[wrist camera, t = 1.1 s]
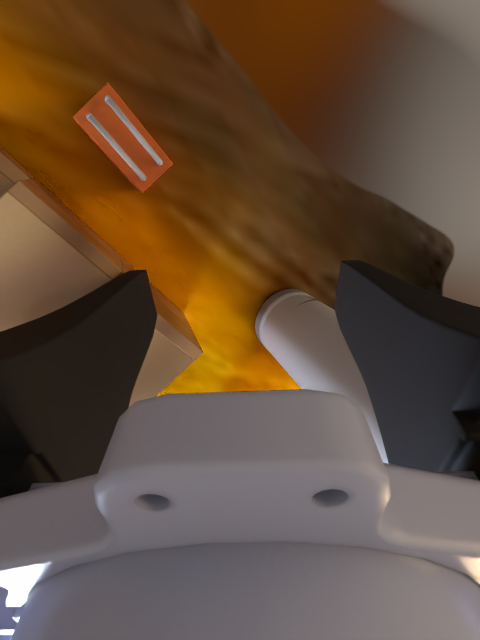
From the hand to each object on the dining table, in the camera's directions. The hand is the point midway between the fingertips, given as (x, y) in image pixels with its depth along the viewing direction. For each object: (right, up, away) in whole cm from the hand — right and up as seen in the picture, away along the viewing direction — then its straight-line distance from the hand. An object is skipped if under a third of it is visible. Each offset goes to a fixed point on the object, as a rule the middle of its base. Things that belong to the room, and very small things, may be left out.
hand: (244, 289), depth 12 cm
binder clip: (-7, +10, +8) cm, 15 cm away
